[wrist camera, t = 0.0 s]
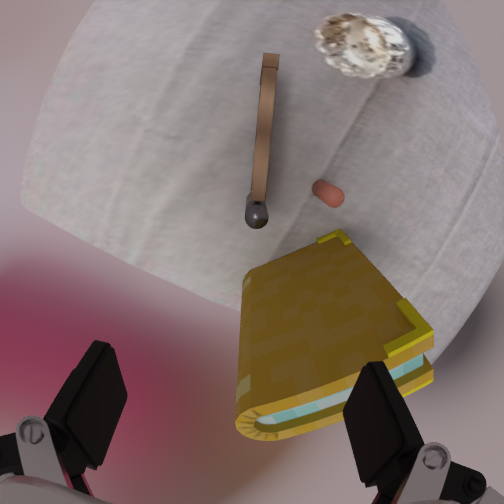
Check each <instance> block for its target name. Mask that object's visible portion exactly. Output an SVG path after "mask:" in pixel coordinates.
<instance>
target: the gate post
mask: <svg viewBox="0 0 504 504" xmlns="http://www.w3.org/2000/svg"><path fill="white" fill-rule="evenodd" d="M251 195H252V192H251V193H250V194H249V195H248V196H247V200H246V211H245V221H246V223H247V225H248V226H249V227H251V228H254V229H260V228H262V227H264V226H265V225H266V224H267V222H268V213H267V209H266V205H265V202H263V201H252V200H251Z"/></svg>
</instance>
